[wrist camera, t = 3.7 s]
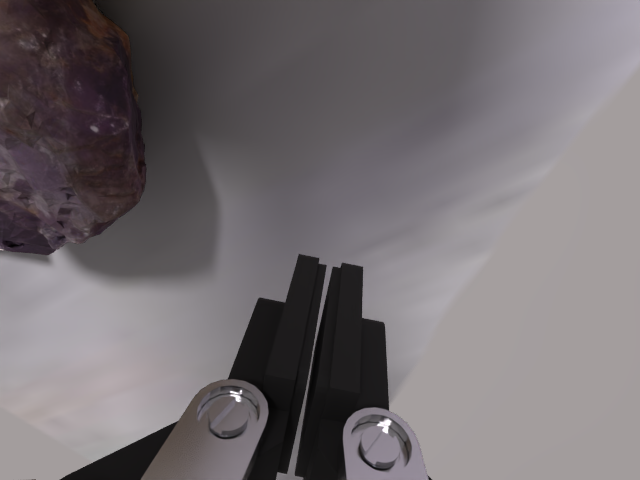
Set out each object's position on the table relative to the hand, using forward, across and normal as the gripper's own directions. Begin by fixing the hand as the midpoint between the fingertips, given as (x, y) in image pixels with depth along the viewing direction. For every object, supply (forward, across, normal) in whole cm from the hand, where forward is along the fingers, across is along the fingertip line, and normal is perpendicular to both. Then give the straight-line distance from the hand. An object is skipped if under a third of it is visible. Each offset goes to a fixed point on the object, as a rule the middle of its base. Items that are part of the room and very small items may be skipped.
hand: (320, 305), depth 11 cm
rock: (+11, +12, -1) cm, 17 cm away
